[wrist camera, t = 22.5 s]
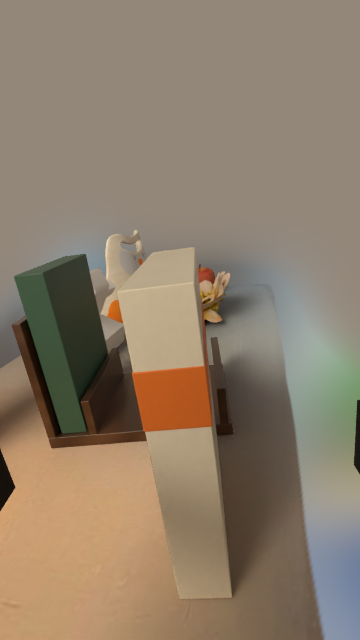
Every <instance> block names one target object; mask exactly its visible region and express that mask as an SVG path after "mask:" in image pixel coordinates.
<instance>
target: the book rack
mask: <svg viewBox="0 0 360 640" xmlns="http://www.w3.org/2000/svg"><path fill="white" fill-rule="evenodd" d="M12 328H13V331H14V334H15V337H16V340H17V343H18V346H19V349H20V352H21V355H22V358H23V362H24V365H25V368H26V371H27V374H28V377H29V380H30V383H31V386H32V389H33V392H34V395H35V398H36V402H37V405H38V408H39V411H40V414H41V417H42V420H43V423H44V426H45V429H46V432H47V435H48V438H49V442H50V445H51V448H59V447H72V446H85V445H97V444H110V443H122V442H135V441H147V438H146V434H145V432H144V430H143V426H142V421H141V416H140V411H139V406H138V401H137V396H136V391H135V386H134V381H133V377H132V373H128V374H123V370H122V365H121V360H120V356H119V351H118V348H112V349H111V351H110V353H109V354H108V356H107V358H106V359H105V361H104V363H103V364H102V366H101V368H100V370H99V371H98V373H97V375H96V376H95V378H94V380H93V381H92V383H91V385H90V387H89V388H88V390H87V392H86V393H85V395H84V397H83V398H82V400H81V405H82V409H83V412H84V416H85V420H86V423H87V427H88V430H87V432H77V433H65V434H62V432H61V428H60V425H59V422H58V419H57V415H56V412H55V409H54V406H53V402H52V399H51V396H50V393H49V389H48V386H47V383H46V379H45V376H44V373H43V370H42V366H41V363H40V360H39V357H38V353H37V350H36V347H35V344H34V340H33V337H32V334H31V331H30V327H29V324H28V321H27V317H26V316H24V317H23V318H21V319H20V320H18V321H17V322H15V323H14V324H12ZM211 345H212V354H213V363H214V365H209V372H210V381H211V389H212V398H213V407H214V415H215V424H216V433H217V435H223V434H233V426H232V419H231V413H230V407H229V401H228V395H227V389H226V383H225V377H224V371H223V365H222V364H221V358H220V352H219V346H218V340H217V337H214V338H211Z"/></svg>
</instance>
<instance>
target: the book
mask: <svg viewBox="0 0 360 640" xmlns="http://www.w3.org/2000/svg"><path fill="white" fill-rule="evenodd" d="M117 295H118V300H119V305H120V310H121V315H122V320H123V325H124V330H125V335H126V340H127V345H128V350H129V355H130V359H131V364H132V369H133V372H132V377H133V381H134V386H135V391H136V396H137V401H138V406H139V411H140V416H141V421H142V426H143V430H144V432H145V434H146V438H147V443H148V448H149V453H150V458H151V463H152V468H153V473H154V478H155V483H156V488H157V493H158V498H159V503H160V508H161V513H162V517H163V522H164V527H165V532H166V537H167V542H168V547H169V552H170V557H171V562H172V567H173V572H174V577H175V582H176V587H177V592H178V596H179V599H209V598H232V588H231V577H230V567H229V556H228V545H227V535H226V524H225V513H224V502H223V492H222V481H221V470H220V460H219V450H218V441H217V433H216V424H215V415H214V407H213V398H212V389H211V381H210V372H209V363H208V355H207V344H206V331H205V323H204V314H203V305H202V296H201V294H200V285H199V276H198V268H197V260H196V250H195V247H191V248H184V249H175V250H167V251H160V252H153V253H152V254H151V255H150V256H149V257H148V258H147V259H146V261H145V262H144V263H143V264H142V265H141V266H140V267H139V268H138V269H137V270H136V271H135V273H134V274H133V275H132V276H131V277H130V278H129V279H128V280H127V281H126V282H125V283H124V285H123V286H122V287H121V288H120V289H119V290H118V291H117Z"/></svg>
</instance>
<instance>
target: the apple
mask: <svg viewBox="0 0 360 640" xmlns="http://www.w3.org/2000/svg"><path fill="white" fill-rule="evenodd" d="M198 276H199V283H201V282H203V281H204V280H207V281H210V282H211V283H212V286H213V284H214V282H215V275H214V272H213V271H212V270H211V269H209V268H200V265H199V268H198Z"/></svg>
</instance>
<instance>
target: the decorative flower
mask: <svg viewBox="0 0 360 640" xmlns="http://www.w3.org/2000/svg"><path fill="white" fill-rule="evenodd" d="M224 274H225V272H222V273H221V274H220V273H219V274H218V276H217V278H216V280H215V282H214V284H213V286H212V283H211V282H210V281H207V280H204V281H203V282H201V283H199V285H200V294H201V296H202V305H203V314H204V321H205V319H207V320H208V321H210V322H214V323H217V322H219V321H222V318H221V317H220V315H219V314H218V313H217V311H218V307H219V305H220V302H219V301H221V300H224V299H223V298H222V296H225V295H226V294H224V293H225V292H224V290H225V289H226V287H227V285H228V283H229V280H230V273H227V274H226V275H224Z"/></svg>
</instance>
